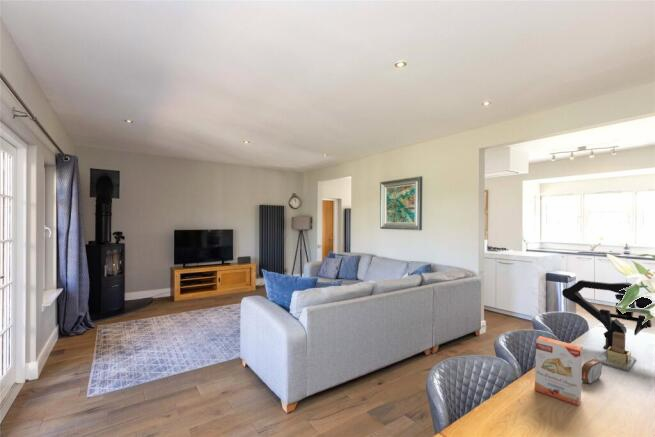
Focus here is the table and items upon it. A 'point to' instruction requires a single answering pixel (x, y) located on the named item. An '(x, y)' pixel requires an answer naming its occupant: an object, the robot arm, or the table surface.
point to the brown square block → (618, 343)
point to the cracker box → (558, 369)
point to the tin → (591, 371)
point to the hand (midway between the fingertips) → (622, 332)
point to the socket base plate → (617, 359)
